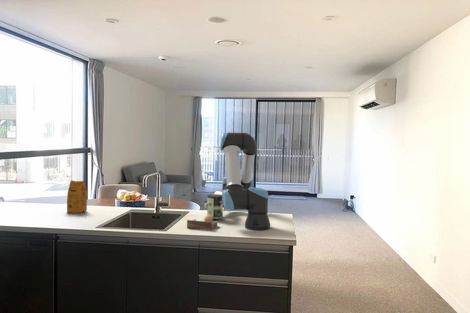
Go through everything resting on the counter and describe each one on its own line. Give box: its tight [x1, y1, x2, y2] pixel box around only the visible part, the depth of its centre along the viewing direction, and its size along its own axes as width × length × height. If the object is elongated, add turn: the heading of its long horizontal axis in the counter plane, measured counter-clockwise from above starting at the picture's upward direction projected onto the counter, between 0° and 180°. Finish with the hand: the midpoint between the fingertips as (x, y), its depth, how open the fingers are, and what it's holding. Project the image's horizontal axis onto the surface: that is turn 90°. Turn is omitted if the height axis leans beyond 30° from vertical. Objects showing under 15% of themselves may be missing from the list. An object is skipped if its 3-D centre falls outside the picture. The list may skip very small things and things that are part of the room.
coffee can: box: [206, 193, 224, 219], centre depth 229 cm, size 10×10×14 cm
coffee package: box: [66, 180, 88, 214], centre depth 245 cm, size 10×12×22 cm
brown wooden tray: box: [186, 219, 218, 231], centre depth 207 cm, size 10×15×4 cm
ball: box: [203, 214, 213, 222], centre depth 217 cm, size 5×5×5 cm
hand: (212, 206), depth 225 cm, fingers closed on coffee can, 10 cm apart
